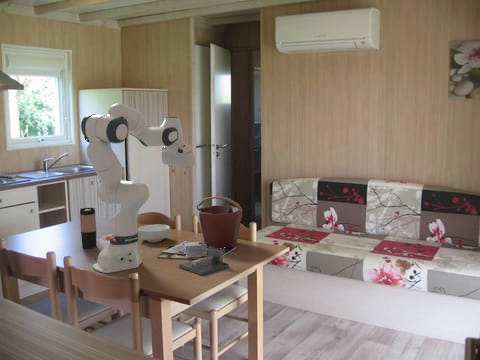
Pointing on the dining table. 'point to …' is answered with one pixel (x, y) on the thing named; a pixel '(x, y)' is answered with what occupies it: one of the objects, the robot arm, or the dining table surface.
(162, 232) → the cereal bowl
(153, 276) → the dining table surface
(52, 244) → the dining table surface
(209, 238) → the bucket
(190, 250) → the block
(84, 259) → the dining table surface
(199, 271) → the coupler plate
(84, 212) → the travel mug
